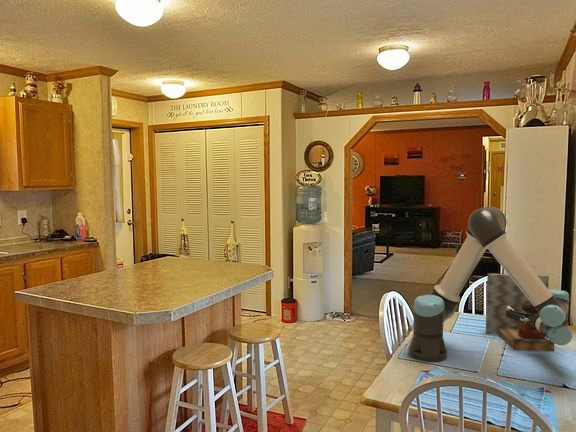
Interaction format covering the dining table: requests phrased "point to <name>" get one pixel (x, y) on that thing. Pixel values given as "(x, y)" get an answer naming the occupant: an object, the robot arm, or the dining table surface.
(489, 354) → the dining table surface
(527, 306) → the brown curved piece
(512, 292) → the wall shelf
